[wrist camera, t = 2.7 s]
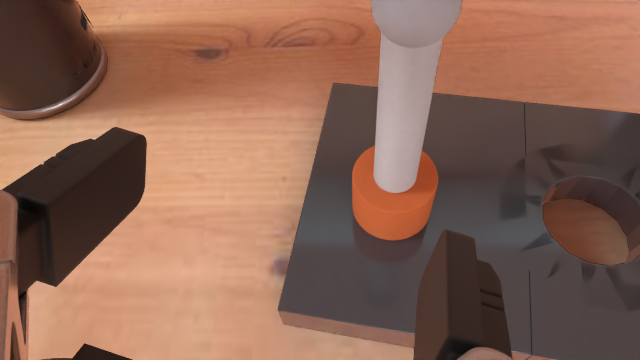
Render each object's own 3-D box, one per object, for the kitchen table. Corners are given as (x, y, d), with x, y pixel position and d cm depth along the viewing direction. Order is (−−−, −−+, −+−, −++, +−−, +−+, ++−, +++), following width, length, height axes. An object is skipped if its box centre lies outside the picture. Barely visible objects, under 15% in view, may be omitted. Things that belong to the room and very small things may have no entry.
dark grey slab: (283, 324, 27) (277, 310, 25) (334, 106, 36) (332, 82, 34) (722, 403, 24) (757, 394, 22) (665, 142, 32) (686, 117, 30)
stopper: (346, 234, 27) (338, 1, 14) (358, 169, 30) (361, -82, 17) (427, 246, 27) (493, 12, 14) (433, 178, 29) (494, -76, 16)
